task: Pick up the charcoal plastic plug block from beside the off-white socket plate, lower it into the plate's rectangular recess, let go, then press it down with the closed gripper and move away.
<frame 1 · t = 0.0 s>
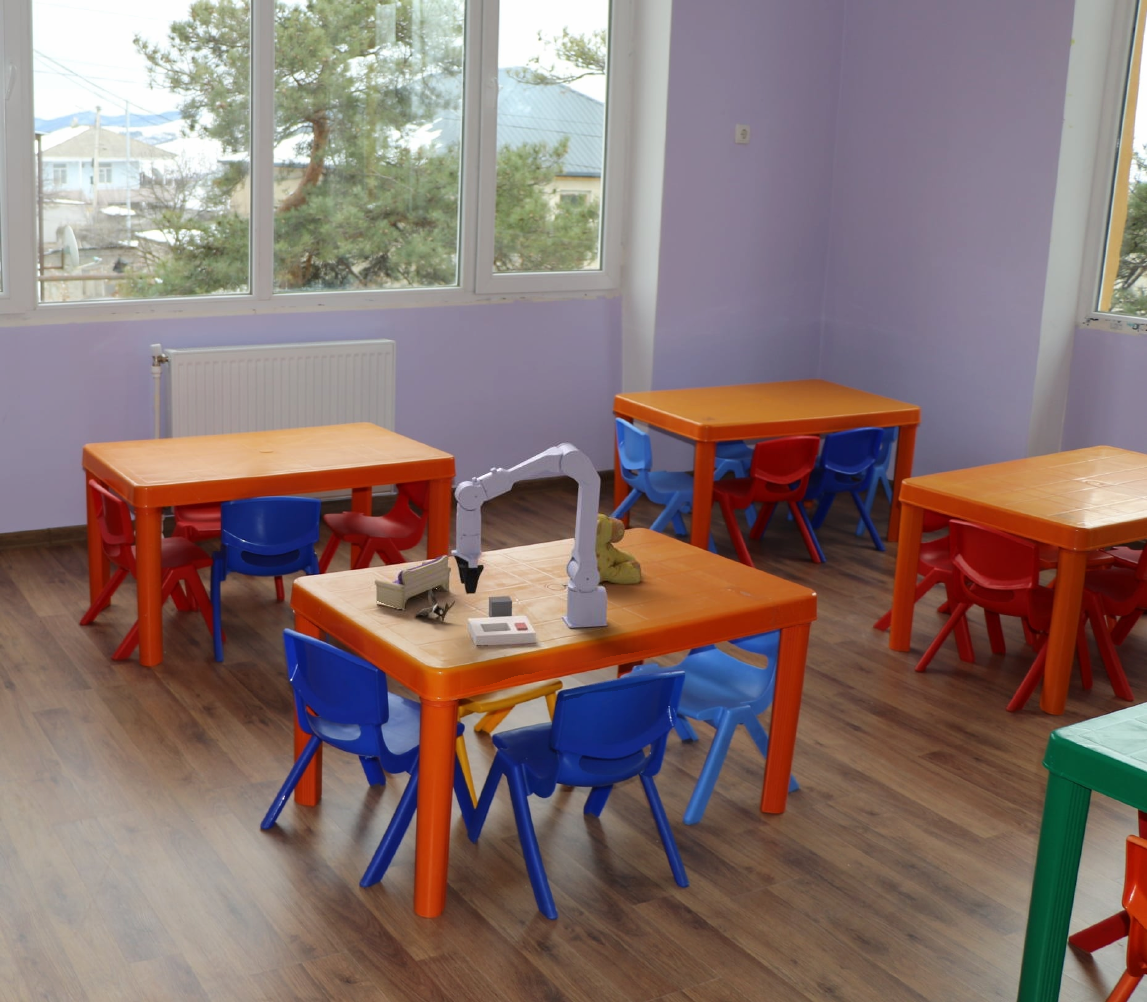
hand: (468, 588, 302), 10 cm above the table, tool pointing down, fingers open, 7 cm apart
eagle figurine: (432, 618, 312), on the table
plug: (500, 618, 312), on the table
socket: (501, 635, 301), on the table
toy sofa: (413, 598, 326), on the table
giraffe plush: (601, 578, 346), on the table
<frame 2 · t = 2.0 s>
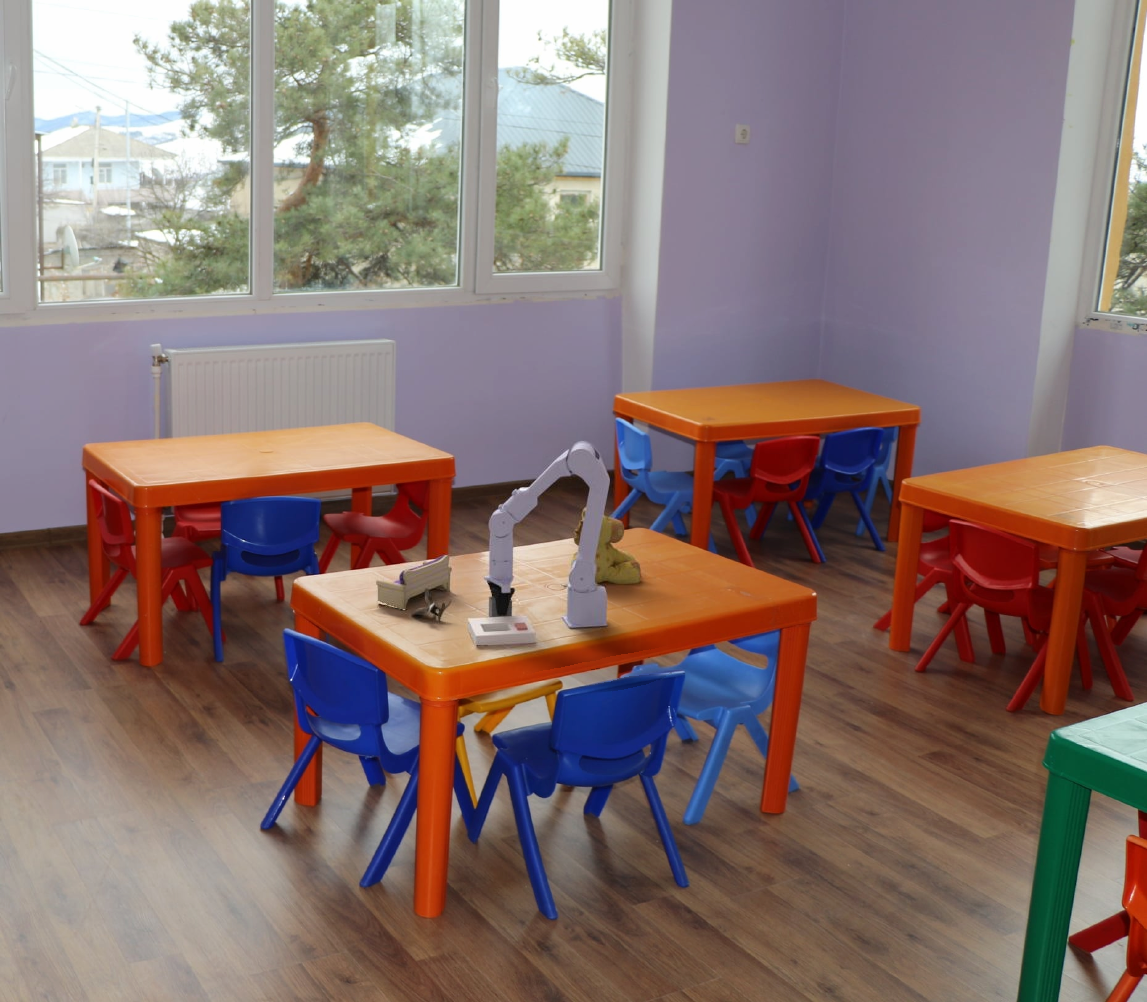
hand: (500, 611, 312), 2 cm above the table, tool pointing down, fingers closed on plug, 4 cm apart
plug: (500, 618, 312), on the table, touching gripper
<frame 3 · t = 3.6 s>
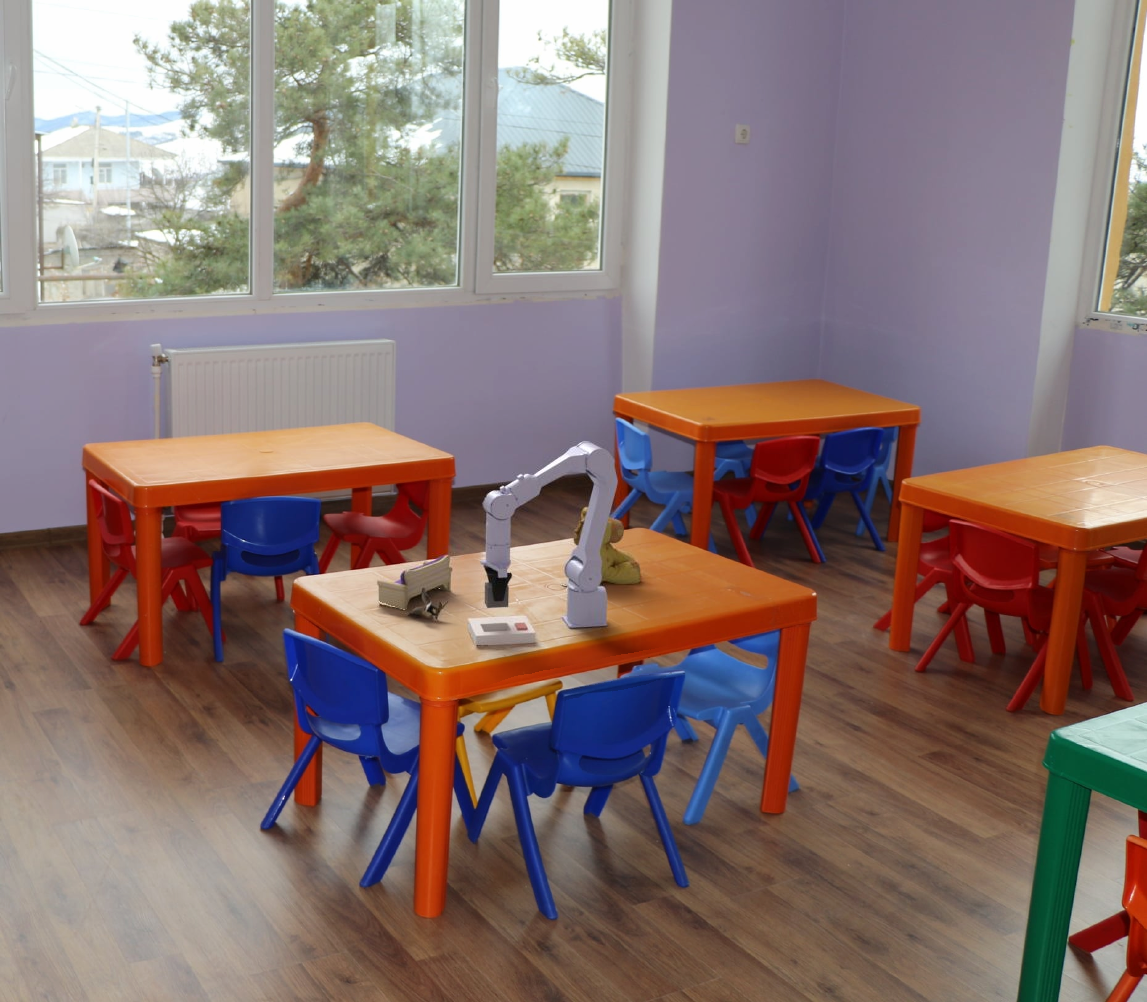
hand: (497, 597, 301), 8 cm above the table, tool pointing down, fingers closed on plug, 4 cm apart
plug: (496, 604, 301), point 7 cm above the table, touching gripper
when the fingers open (3 cm above the table, at t = 5.2 s): plug drops 1 cm, resting on socket.
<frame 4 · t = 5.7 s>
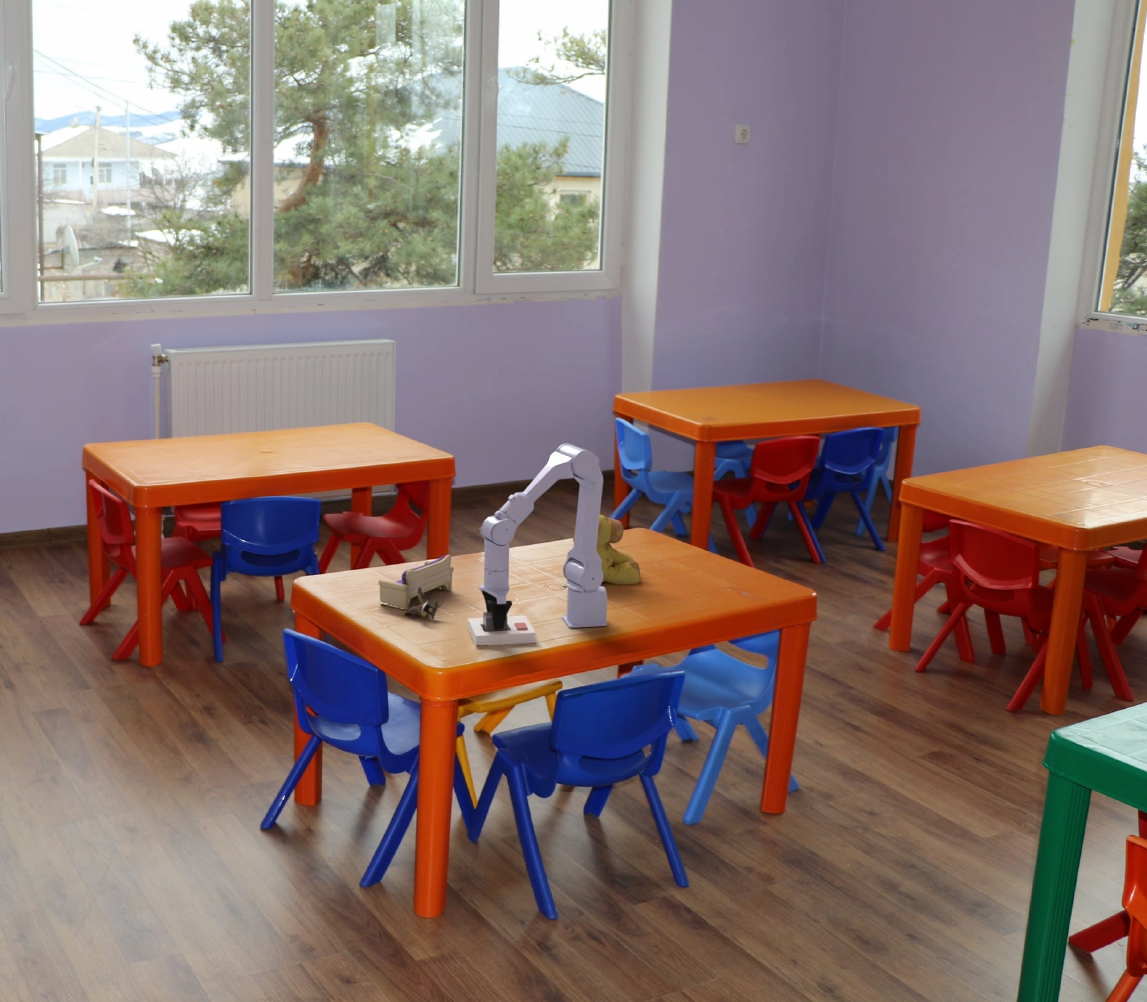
hand: (495, 623, 298), 3 cm above the table, tool pointing down, fingers open, 7 cm apart
eagle figurine: (422, 616, 313), on the table
plug: (494, 634, 299), point 1 cm above the table, touching socket
everything else where it was.
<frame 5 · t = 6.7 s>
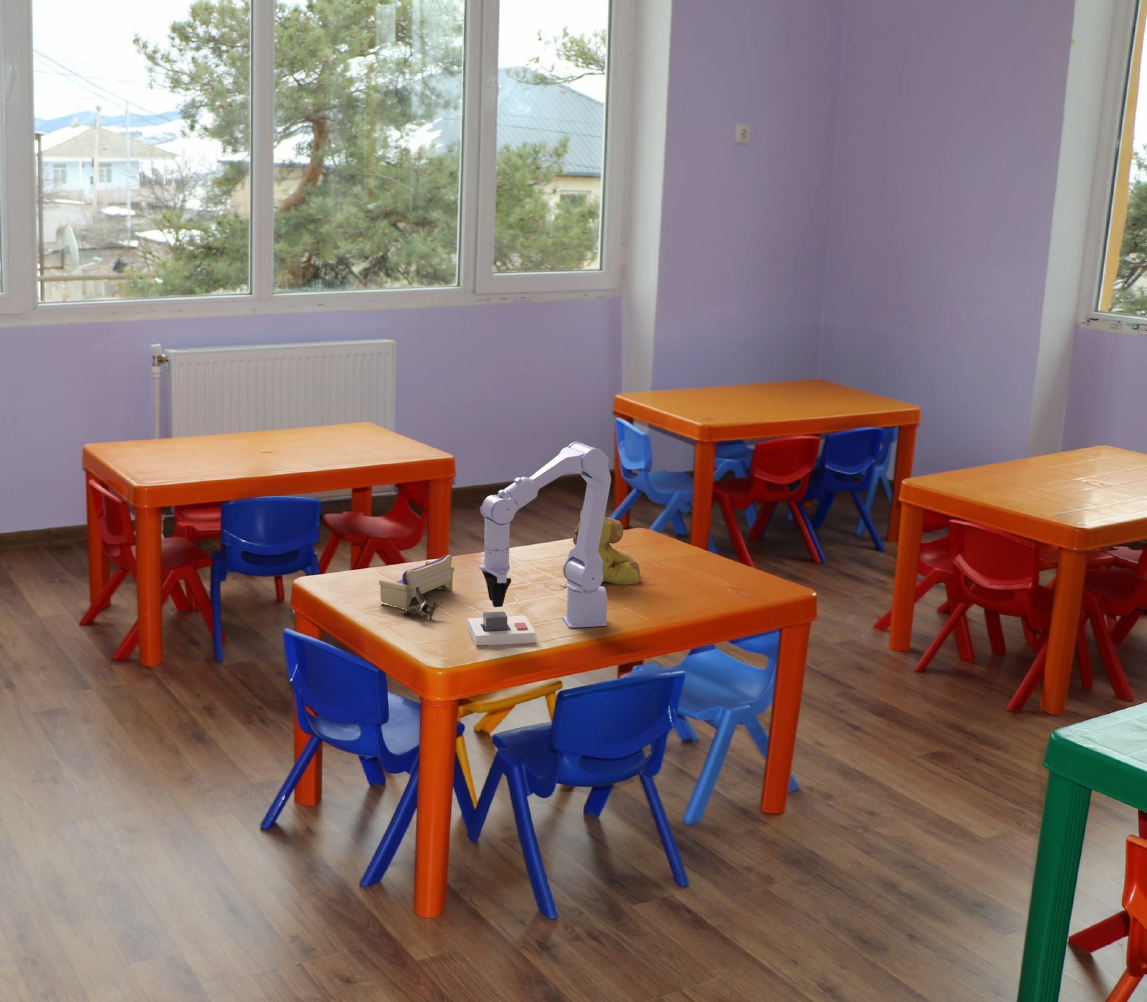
hand: (496, 603, 297), 8 cm above the table, tool pointing down, fingers open, 4 cm apart
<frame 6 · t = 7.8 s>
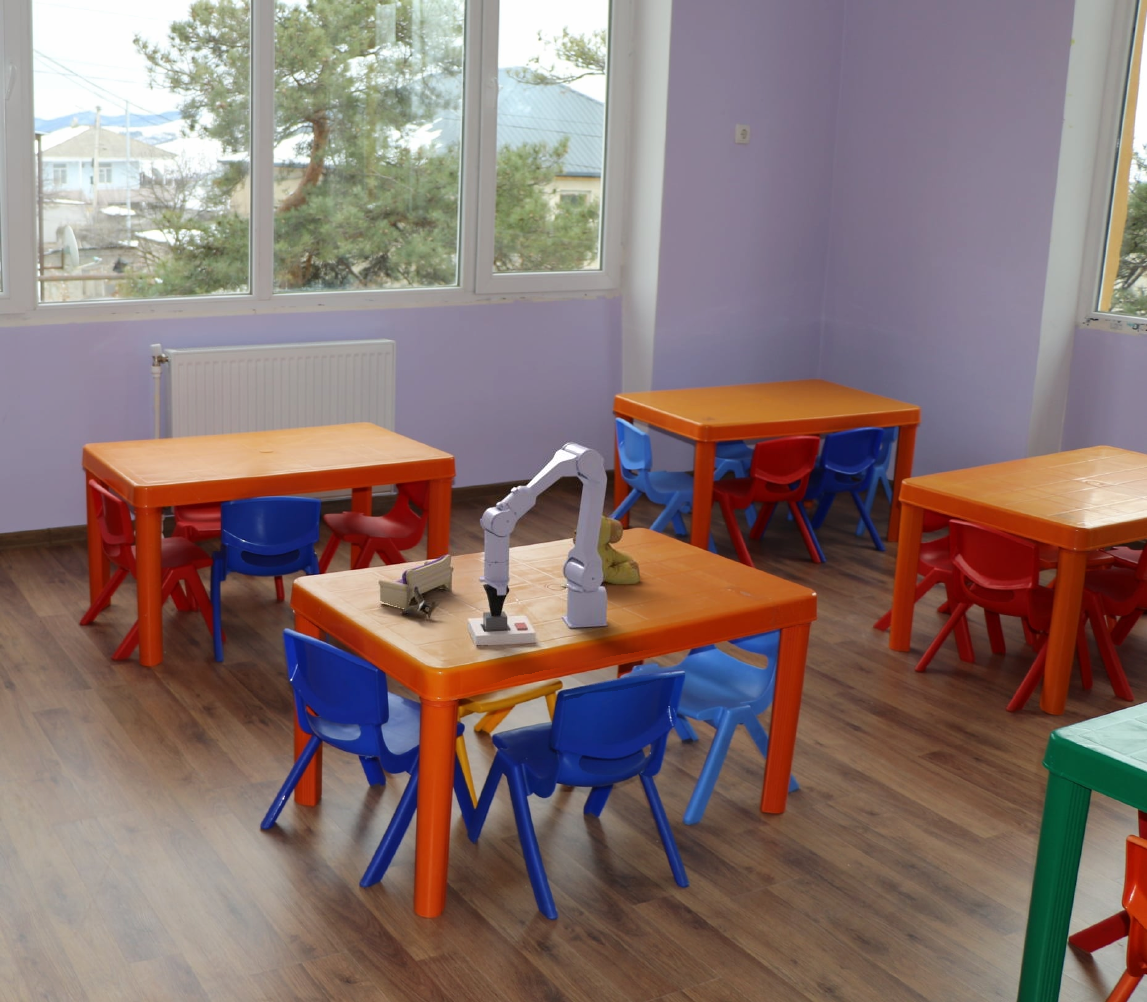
hand: (495, 615, 298), 5 cm above the table, tool pointing down, fingers closed, pressing on plug
plug: (494, 634, 299), point 1 cm above the table, touching gripper, socket
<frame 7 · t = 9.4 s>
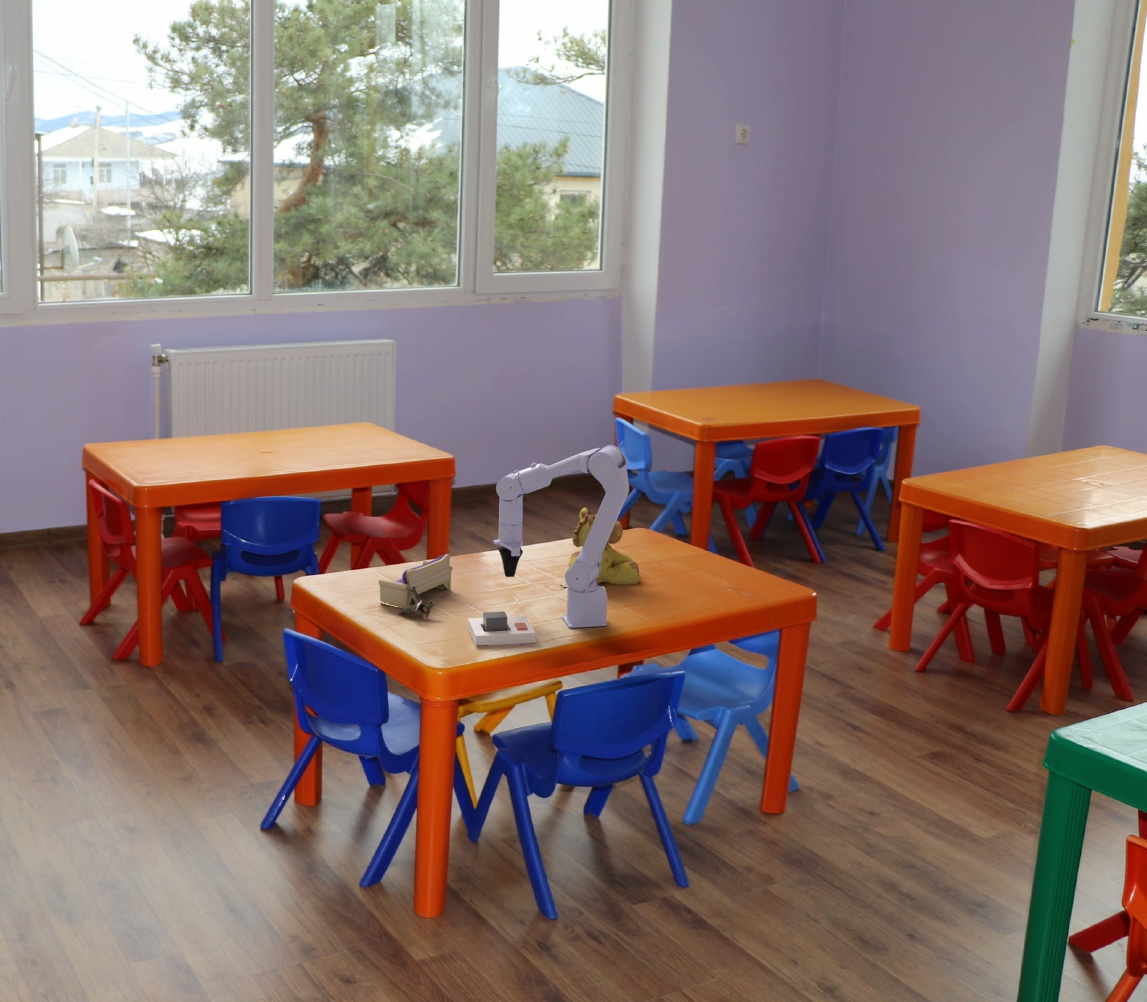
hand: (509, 576, 314), 9 cm above the table, tool pointing down, fingers closed
plug: (494, 634, 299), point 1 cm above the table, touching socket
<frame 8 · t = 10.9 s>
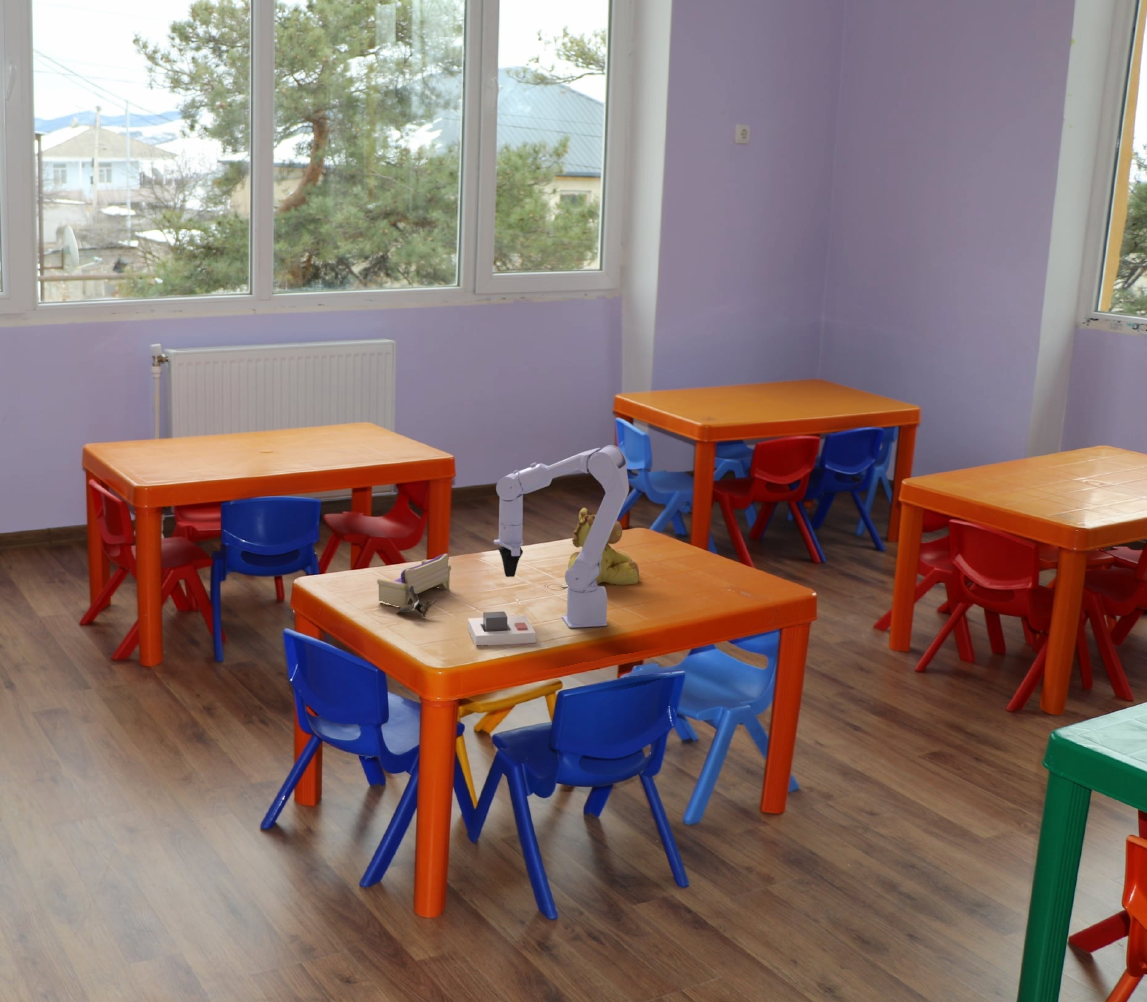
hand: (509, 576, 315), 9 cm above the table, tool pointing down, fingers closed
at the end: plug 0.1 cm from the target spot on the socket, point 0.6 cm above the socket's base; plug tilted 0°; the gripper is holding nothing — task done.
